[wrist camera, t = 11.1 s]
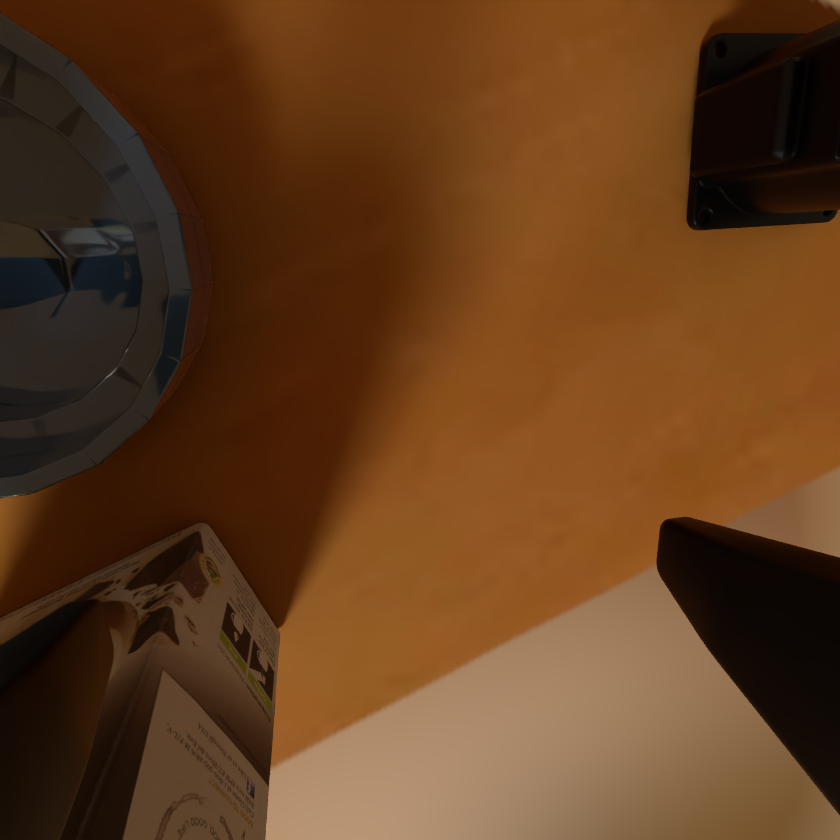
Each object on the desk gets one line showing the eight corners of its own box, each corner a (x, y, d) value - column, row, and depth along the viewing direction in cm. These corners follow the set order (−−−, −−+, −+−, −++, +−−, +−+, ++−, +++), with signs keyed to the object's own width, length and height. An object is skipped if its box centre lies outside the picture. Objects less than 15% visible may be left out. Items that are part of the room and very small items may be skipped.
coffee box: (203, 511, 21) (-42, 1172, 6) (284, 634, 23) (255, 1344, 8) (-25, 622, 20) (-941, 1667, 5) (80, 737, 23) (-357, 1705, 8)
